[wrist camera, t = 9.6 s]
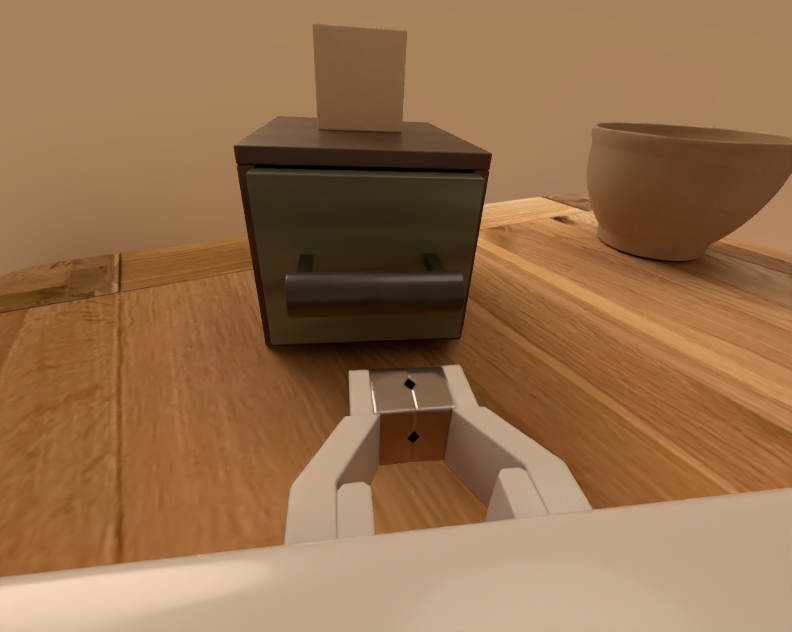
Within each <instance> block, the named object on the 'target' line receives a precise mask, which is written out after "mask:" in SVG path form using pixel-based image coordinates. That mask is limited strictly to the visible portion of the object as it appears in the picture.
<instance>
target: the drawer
mask: <svg viewBox="0 0 792 632" xmlns="http://www.w3.org/2000/svg"><path fill="white" fill-rule="evenodd" d="M246 179H247V186H248V192H249V199H250V205H251V212H252V218H253V225H254V232H255V238H256V245H257V251H258V258H259V264H260V271H261V277H262V284H263V290H264V297H265V304H266V310H267V317H268V323H269V330H270V336H271V343H272V345H279V344H305V343H331V342H357V341H382V340H408V339H434V338H458V337H459V333H460V327H461V321H462V315H463V309H464V303H465V297H466V291H467V285H468V279H469V273H470V267H471V261H472V255H473V249H474V243H475V237H476V231H477V225H478V219H479V213H480V207H481V201H482V195H483V189H484V183H485V179H484V178H483V177H481V176H480V175H478V174H477V173H455V172H454V171H453V170H441V169H401V168H361V167H322V166H282V165H274V166H273V167H272V168H251V169H250V170H249V171H248V172H247V173H246Z"/></svg>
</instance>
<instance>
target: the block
mask: <svg viewBox="0 0 792 632" xmlns="http://www.w3.org/2000/svg"><path fill="white" fill-rule="evenodd" d="M312 26H313V46H314V63H315V82H316V100H317V120H318V129H319V130H342V131H368V132H394V133H401V132H402V118H403V99H404V79H405V60H406V40H407V31H406V30H394V29H383V28H369V27H357V26H344V25H331V24H317V23H313V25H312Z"/></svg>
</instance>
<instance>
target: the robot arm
mask: <svg viewBox="0 0 792 632" xmlns="http://www.w3.org/2000/svg"><path fill="white" fill-rule="evenodd" d="M349 404H350V416H345V417H344V418H343V419H342V421H341V422H340V423H339V425H338V426H337V427H336V428H335V430H334V431H333V432H332V434H331V435H330V436H329V438H328V439H327V440H326V441H325V443H324V444H323V445H322V447H321V448H320V449H319V450H318V452H317V453H316V454H315V456H314V457H313V458H312V460H311V461H310V462H309V463H308V465H307V466H306V467H305V469H304V470H303V471H302V472H301V474H300V475H299V476H298V478H297V479H296V480H295V481H294V483H293V484H292V485H291V487H290V494H289V503H288V511H287V520H286V528H285V537H284V545H279V546H270V547H261V548H252V549H244V550H235V551H226V552H217V553H208V554H200V555H191V556H182V557H173V558H164V559H156V560H147V561H138V562H129V563H120V564H112V565H103V566H94V567H85V568H76V569H68V570H59V571H50V572H41V573H32V574H24V575H15V576H6V577H0V632H792V487H789V488H780V489H771V490H762V491H753V492H744V493H736V494H727V495H718V496H709V497H700V498H692V499H683V500H674V501H665V502H656V503H647V504H639V505H630V506H621V507H612V508H604V509H595V510H593V509H592V507H591V505H590V504H589V502H588V500H587V499H586V497H585V495H584V494H583V492H582V490H581V489H580V487H579V485H578V484H577V482H576V480H575V479H574V477H573V475H572V474H571V472H570V470H569V469H568V467H567V465H566V464H565V462H564V461H562V460H561V459H560V458H558V457H557V456H555V455H554V454H552V453H551V452H549V451H548V450H547V449H545V448H544V447H542V446H541V445H539V444H538V443H537V442H535V441H534V440H532V439H531V438H529V437H528V436H526V435H525V434H524V433H522V432H521V431H519V430H518V429H516V428H515V427H513V426H512V425H511V424H509V423H508V422H506V421H505V420H503V419H502V418H500V417H499V416H498V415H496V414H495V413H493V412H492V411H490V410H489V409H488V408H486V407H479V405H478V403H477V401H476V398H475V396H474V394H473V392H472V389H471V387H470V385H469V383H468V381H467V378H466V376H465V374H464V372H463V369H462V367H461V366H460V365H459V364H458V365H445V366H437V367H420V368H398V369H369V370H349ZM436 460H444V463H445V464H446V465H447V466H448V467H449V468H450V469H451V470H452V471H453V472H454V473H455V474H456V476H457V477H458V478H459V479H460V480H461V481H462V482H463V483H464V484H465V485H466V486H467V487H468V488H469V490H470V491H471V492H472V493H473V494H474V495H475V496H476V497H477V498H478V499H479V500H480V501H481V502H482V504H483V505H484V506H485V507H486V508H487V509H488V511H487V514H486V518H485V521H484V522H482V523H473V524H464V525H455V526H447V527H438V528H429V529H420V530H411V531H402V532H393V533H384V534H376V535H375V526H374V516H373V506H372V496H371V487H370V485H371V483H372V481H373V479H374V477H375V474H376V472H377V470H378V468H379V466H381V465H389V464H398V463H407V462H419V461H436Z"/></svg>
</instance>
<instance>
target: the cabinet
mask: <svg viewBox="0 0 792 632" xmlns="http://www.w3.org/2000/svg"><path fill="white" fill-rule="evenodd" d="M234 152H235V159H236V163H237V164H238V165H237V171H238V178H239V183H240V190H241V196H242V202H243V208H244V214H245V220H246V227H247V232H248V239H249V245H250V251H251V257H252V263H253V270H254V276H255V282H256V288H257V294H258V300H259V306H260V312H261V319H262V325H263V331H264V337H265V343H266V345H267V346H268V345H272V343H271V336H270V330H269V323H268V317H267V310H266V304H265V297H264V290H263V284H262V277H261V271H260V264H259V258H258V251H257V245H256V238H255V232H254V225H253V218H252V212H251V205H250V199H249V192H248V186H247V179H246V173H247V172H248V171H249V170H250V169H251V168H272V167H273V166H274V165H282V166H322V167H361V168H401V169H441V170H453V171H454V172H455V173H477V174H478V175H480V176H481V177H483V178H484V179H485V183H484V189H483V195H482V201H481V207H480V213H479V219H478V225H477V231H476V237H475V243H474V249H473V255H472V261H471V267H470V273H469V279H468V285H467V291H466V297H465V303H464V309H463V315H462V321H461V327H460V333H459V337H458V338H461V335H462V329H463V328H462V327H463V323H464V318H465V312H466V306H467V300H468V294H469V288H470V282H471V276H472V270H473V265H474V259H475V253H476V247H477V241H478V235H479V229H480V223H481V217H482V212H483V206H484V200H485V194H486V188H487V182H488V176H489V171H488V170H489V169H490V163H491V157H492V154H491V153H490V152H487V151H485V150H483V149H481V148H479V147H477V146H475V145H473V144H471V143H469V142H467V141H464V140H463V139H460V138H458V137H456V136H454V135H452V134H450V133H448V132H446V131H444V130H442V129H439V128H438V127H436V126H433V125H431V124H429V123H423V122H402V132H401V133H394V132H368V131H342V130H319V129H318V120H317V118H305V117H282V116H278V117H276V118H275V119H273V120H272V121H270V122H269V123H267V124H266V125H264V126H263V127H261V128H259V129H258V130H256V131H255V132H253V133H252V134H251V135H249V136H247V137H246V138H244V139H243V140H242V141H240V142H238V143H237V144H235V145H234ZM434 339H448V338H434ZM408 340H422V339H408ZM382 341H397V340H382ZM357 342H371V341H357ZM331 343H345V342H331ZM305 344H319V343H305ZM279 345H293V344H279Z"/></svg>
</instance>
